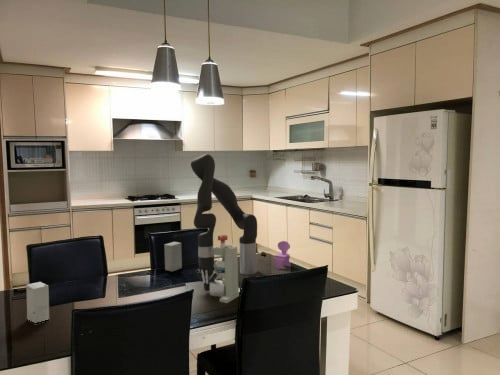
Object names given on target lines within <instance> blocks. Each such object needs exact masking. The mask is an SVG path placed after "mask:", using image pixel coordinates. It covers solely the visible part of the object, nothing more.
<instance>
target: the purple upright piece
mask: <svg viewBox="0 0 500 375" xmlns="http://www.w3.org/2000/svg"><path fill="white" fill-rule="evenodd" d="M277 248H278V249H279V250H280V251H281V252H280V253H278V254H275V255H274V262H275V264H274V265H275V266H274V269H279V270H285V266H286V267H291V266H292V264H291V263H290V258H291V256H290V254H288V250H289V249H291V245H290V243H289V242H288V241H285V240H281V241H279V242H278V243H277Z"/></svg>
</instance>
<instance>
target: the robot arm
mask: <svg viewBox="0 0 500 375" xmlns="http://www.w3.org/2000/svg"><path fill="white" fill-rule="evenodd" d="M190 167H191V169H192V171H193V173H194V174H195V175H196V176H197V178H199V180H201V184H200V185H199V188H198V191H197V197H196V198H197V200H196V201H197V203H196V204H197V207H196V212H195V214H194V219H193V225H194V227H195V228H196V229H198V230H200V229H207V231H206V232H202V233H200V234H198V236H197V237H198V238H197V242H198V245H197V246H198V249H197V254H198V255H197V256H198V261H197V262H198V266H199V267H198V269H196V270H195V271H194V273H195V275H196V276H197V277H198V279H199V281H200V282H201V283H203V290H204V291H206V292H210V282H212V281H214V280H216V277H217V276H218V274H219V273H218V272H216V271H215V255H214V248H215V247H214V231H215V227H216V224H217V217H216V215H215V214H214V213H205V212H209V211H211V210H212V208H213V200H212V198H213V197H212V196H214V197H215V198H216V200H217V201H218V203H220V205H221V206H222V207H223V208H224V209H225V210H226V212H227V213H228V214H229V215H230V218H231V219H232V220H233V222H234V223H235V225H236V227H237V228H239V229H240V230H243V233H242V234H243V235H242V236H240V237H239V240H238V242H239V271H240V274H241V275H249V276H250V275H254V274H256V273H257V272H258V262H257V259H258V258H257V242H256V240H257V237H258V220H257V217H256V216H255V215H254V214H250V213H246V212H245V211H243V209H242V208H241V207H240V206H239V203H238V200H237V195H236V194H235V192H234V191H233V189H232V188H231V187H230V186H229V184H227V183H225V182H223V181H221V180H218V179H217V178H214V176H215V169H216V162H215V159H214V157H213V156H212V155H211V154H209V153H207V154H206V153H205V154H204V155H201V156H199V157H195V158H194V159H193V160H191V163H190Z"/></svg>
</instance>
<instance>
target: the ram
mask: <svg viewBox="0 0 500 375" xmlns="http://www.w3.org/2000/svg"><path fill="white" fill-rule="evenodd" d="M217 241H220V246H221V248H225V245H226V241H228V235H226V234H222V235H217ZM215 263H216V264H217V267H221V268H225V255H224V256H221V257H220V258H218V259H217V260H216V262H215Z"/></svg>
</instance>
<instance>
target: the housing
mask: <svg viewBox="0 0 500 375" xmlns="http://www.w3.org/2000/svg"><path fill="white" fill-rule="evenodd" d="M225 295H226V283H225V279H222V281H220V280H216V279H215V280H214V281H212V282H210V290H209V296H213V297H217V296H218V297H219V298H221V297H223V296H225ZM218 297H217V298H218Z"/></svg>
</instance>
